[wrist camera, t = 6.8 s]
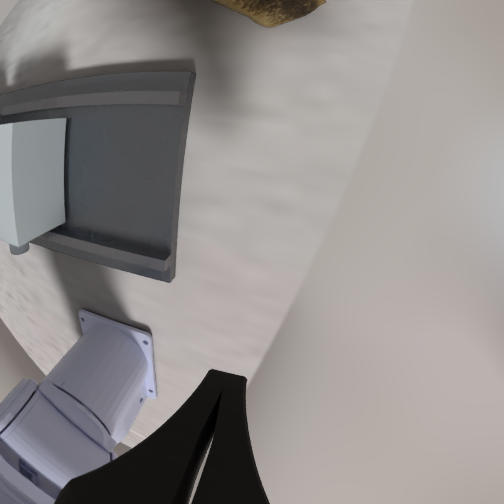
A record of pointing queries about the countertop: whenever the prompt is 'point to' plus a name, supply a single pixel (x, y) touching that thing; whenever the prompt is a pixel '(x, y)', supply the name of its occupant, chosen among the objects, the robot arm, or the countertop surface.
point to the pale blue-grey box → (31, 180)
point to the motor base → (116, 164)
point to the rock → (272, 9)
